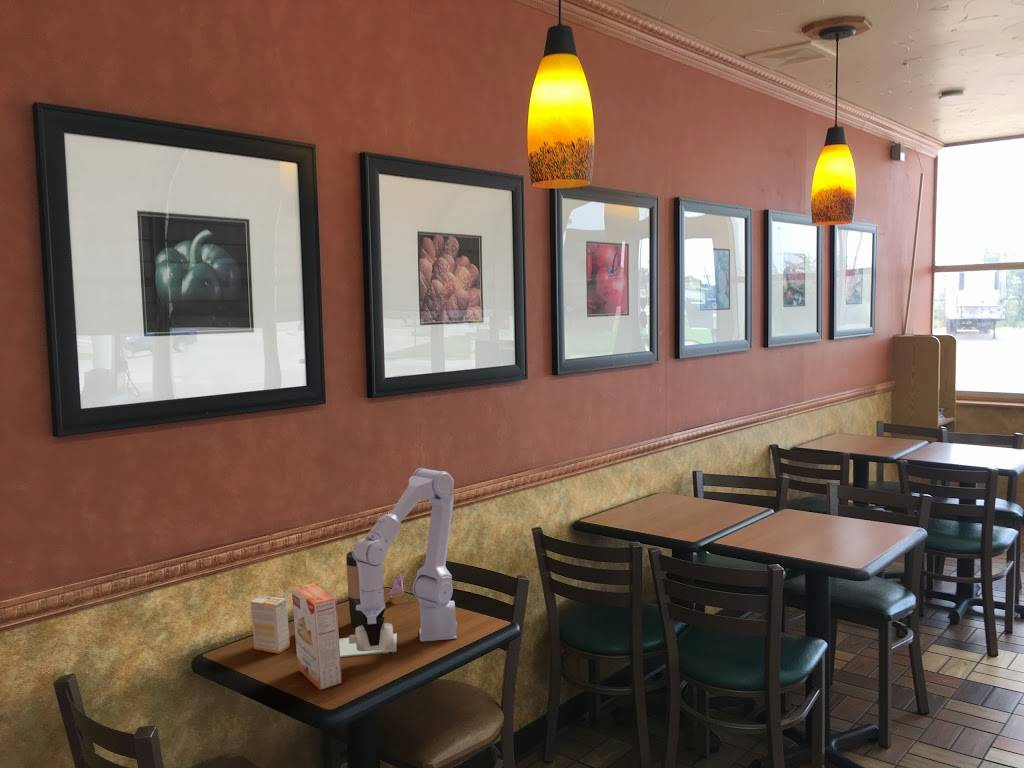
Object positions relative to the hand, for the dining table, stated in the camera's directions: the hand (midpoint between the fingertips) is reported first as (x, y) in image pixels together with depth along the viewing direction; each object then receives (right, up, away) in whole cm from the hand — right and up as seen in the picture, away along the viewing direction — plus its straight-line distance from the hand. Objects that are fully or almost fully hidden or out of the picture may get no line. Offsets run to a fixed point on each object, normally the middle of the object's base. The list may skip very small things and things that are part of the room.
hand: (374, 641), depth 203 cm
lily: (0, -1, +41) cm, 41 cm away
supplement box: (-28, -6, +11) cm, 31 cm away
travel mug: (-7, -3, +25) cm, 26 cm away
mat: (-4, -4, +10) cm, 12 cm away
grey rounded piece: (0, -1, 0) cm, 1 cm away
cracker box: (-12, -7, -7) cm, 15 cm away
